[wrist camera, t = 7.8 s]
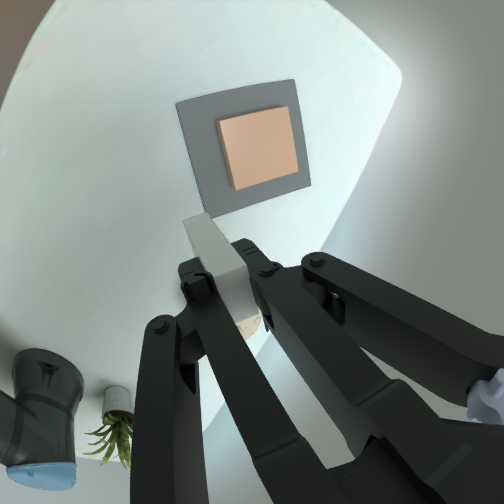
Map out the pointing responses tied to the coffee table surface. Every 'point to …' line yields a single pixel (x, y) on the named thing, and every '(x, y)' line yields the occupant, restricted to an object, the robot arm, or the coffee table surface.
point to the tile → (257, 146)
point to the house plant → (116, 423)
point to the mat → (211, 154)
